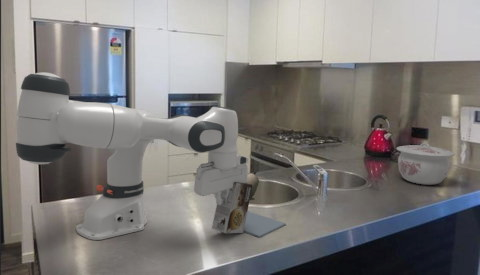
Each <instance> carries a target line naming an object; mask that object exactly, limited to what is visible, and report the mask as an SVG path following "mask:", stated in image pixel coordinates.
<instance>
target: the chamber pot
mask: <svg viewBox="0 0 480 275" xmlns="http://www.w3.org/2000/svg"><path fill="white" fill-rule="evenodd" d="M396 151H398V152H400V154H399V156H398V159H397V165H398V170H399V173H400V174H401V176H402V178H403V179H404V180H406V181H407V182H409V183H412V184H415V183H416V185H420V184H421V185H423V186H435V185H439V184H440V183H442V182H443V180H445V179H446V177H448V174H449V172H450V170H451V165H452V163H451V161H450V159H449V158H450V157H453V156H456V155H455V152H453V151H452V150H448V149H445V148H441V147H437V146H431V145H430V144H428V143H427V142H423V143H421V144H420V145H419V144H412V145H411V144H409V145H402V146H401V145H400V146H397V147H396Z"/></svg>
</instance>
